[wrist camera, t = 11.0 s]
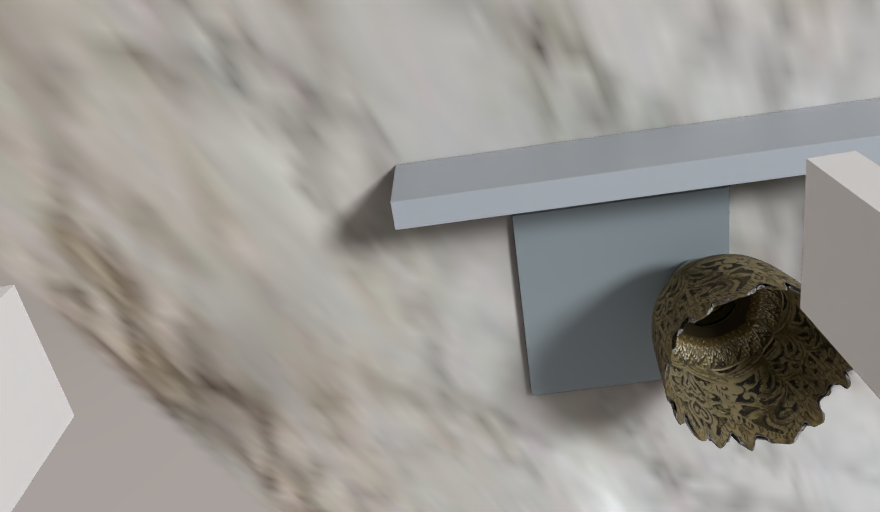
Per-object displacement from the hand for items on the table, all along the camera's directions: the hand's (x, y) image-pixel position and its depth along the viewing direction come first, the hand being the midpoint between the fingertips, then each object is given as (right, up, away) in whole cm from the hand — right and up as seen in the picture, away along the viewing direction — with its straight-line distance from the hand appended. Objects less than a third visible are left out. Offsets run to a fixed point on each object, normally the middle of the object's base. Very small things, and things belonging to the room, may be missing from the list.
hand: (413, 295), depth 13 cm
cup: (+13, -1, +25) cm, 28 cm away
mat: (+9, -1, +25) cm, 27 cm away
